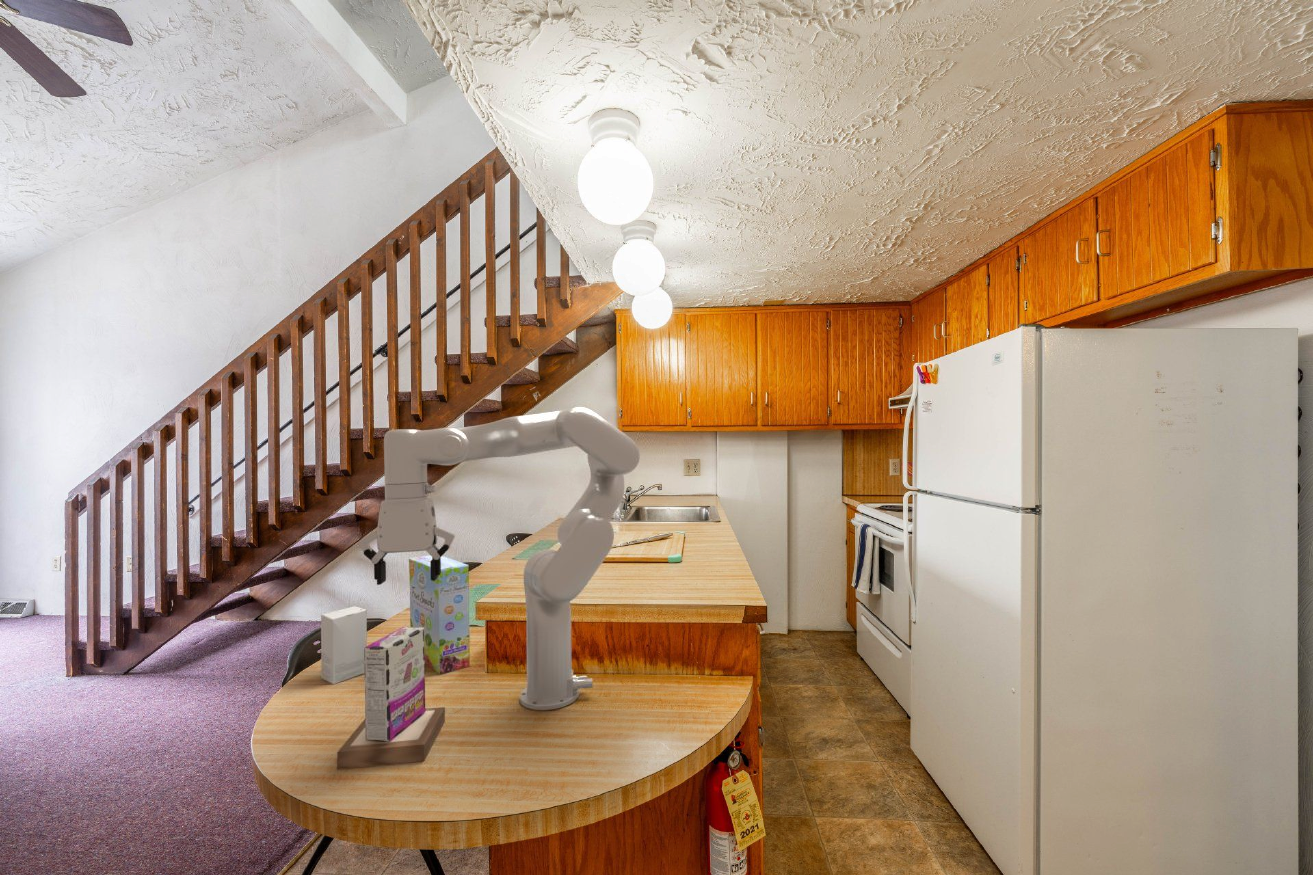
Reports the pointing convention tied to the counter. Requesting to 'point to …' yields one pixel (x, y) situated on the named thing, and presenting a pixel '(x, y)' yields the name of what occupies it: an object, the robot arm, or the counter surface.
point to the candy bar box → (394, 683)
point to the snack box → (441, 612)
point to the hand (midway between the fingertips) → (408, 581)
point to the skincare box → (343, 644)
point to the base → (393, 743)
